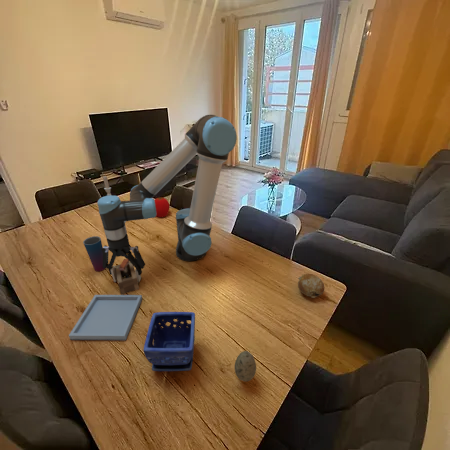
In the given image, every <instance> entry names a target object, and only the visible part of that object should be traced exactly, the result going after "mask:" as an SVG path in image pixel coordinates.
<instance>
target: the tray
mask: <svg viewBox="0 0 450 450" xmlns="http://www.w3.org/2000/svg"><path fill="white" fill-rule="evenodd" d="M142 302H143V295H141V294H94V295H93V297H92V298H91V300H90V302H89V303H88V305H87V306H86V308H85V309H84V311H83V313H82V314H81V315H80V317H79V318H78V320H77V321H76V324H75V325H74V327H73V328H72V329H71V331H70V333H69V334H68V337H69V340H70V341H126V340H127V338H128V336H129V333H130V331H131V329H132V326H133V323H134V321H135V319H136V317H137V314H138V311H139V309H140V306H141V304H142Z"/></svg>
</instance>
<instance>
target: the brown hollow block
mask: <svg viewBox="0 0 450 450" xmlns="http://www.w3.org/2000/svg"><path fill="white" fill-rule="evenodd" d="M120 265H121V263H119V264H117V265H114V266H115V268H116V274H117V280H116V281H117V286H118V289H119V292H120V295H126V294H128V293H131V292H134V291H137V290H140V286H139V282H138V281H137V277H136V273H135V269H136V268H135V267H134V266H133V265H132V263H131V262H130V261H129V263H128V265H127V269H128V273H129V278H125V274H124V270H119V267H120Z"/></svg>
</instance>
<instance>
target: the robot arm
mask: <svg viewBox="0 0 450 450" xmlns="http://www.w3.org/2000/svg"><path fill="white" fill-rule="evenodd" d="M237 136H238V135H237V130H236V128H235V126H234V124H233V123H232V122H231V121H230V120H228V119H227V118H224V117H222V116H217V115H215V114H206V115H203V116H202V117H200V118H199V119H198V120H197V121H196V122H195V123H194V124H192V126H191V127H190V128H189V129H188V131H186V133H184V138H183V139H182V141H180V142H179V144H177V145H176V147H174V148H173V149H172V150H171V152H169V153H168V154H167V156H165V157H164V159H162V160H161V162H159V164H157V165H156V166H155V168H153V170H151V172H150V173H149V174H148V175H147V176H146V177H145V178H143V180H141V182H140V183H138V184H137V185H134V186H132V188H131V189H130V192H129V200H121V198H120V197H119V196H118V195H112V194H111V195H109V196H107V195H105V196H102V197H100V198H99V199H98V200H97V208H98V214H99V216H100V219H101V223H102V227H103V232H104V234H105V238H106V242H107V245H105V244H104V245H103V246H102V247H103V248H102V249H101V250H102V253H103V268H106V269H107V270H108V273H109V275H111V277H112V280H113V283H116V282H117V281H118V280H117V274H116V267H115V266H116V265H114V263H115V260H116V258H118V257H122V258H123V257H124V259H128V260H129V262H131V263H132V265H133V266H134V269H135V273H136V277H137V281H138V283H140V281H141V279H142V276H141V275H142V273H143V270H142V269H144V268H145V266H146V262H145V260H144V259H143V256H142V255H141V253H140V251H139V246H138V245H135V246H131V244H130V241H129V236H128V230H127V227H126V222H130V221H138V220H139V221H140V220H141V221H142V220H148V219H153V218H155V217H157V216H156V215H157V214H156V207H155V198H154V197H155V196H156V195H157V194H158V193H159V192H160V191H161V190H162V189H163V188H164V187H165V186H166V185H167V184H168V183H169V182H170V181H171V180H172V179H173V178H174V177H175V176H176V175H177V174H178V173H179V172H180V171H181V170H182V169H183V168H184V167H186V165H187V164H188V163H189V162H190V161H192V160H193V159H194V158H195V156H196V155H197V157H198V158H199V159H198V165H197V166H198V167H197V171H196V176H195V181H194V185H193V191H192V197H191V198H192V199H191V203H190V206H189V207H188V208H183V209H179V210H178V211H176V213H175V221H176V229H177V230H176V231H177V245H176V247H175V253H176V257H177V258H178V259H179V260H182V261H186V262H193V261H199V260H200V259H203V258H204V257H205V256H206V255H207V252H208V251H209V250H210V248H211V247H212V244H213V243H212V237H211V230H212V228H213V223H212V222H211V220H210V219H211V215H212V211H213V206H214V202H215V197H216V194H217V188H218V184H219V180H220V176H221V175H220V174H221V171H222V166H223V163H225V162H227V161H228V160H229V159H228V158H229V155H230V152H232V151H233V150H234V148H235V146H236V144H237V140H238V138H237ZM124 221H126V222H124ZM109 251H110V252H111V253H112V255H111V258H110V261H109Z"/></svg>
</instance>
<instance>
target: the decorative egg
mask: <svg viewBox="0 0 450 450" xmlns="http://www.w3.org/2000/svg"><path fill="white" fill-rule="evenodd" d="M256 371H257V363H256V360H255V357H254V356H253V354H252V353H251V352H249V351H248V350H244V351H241V352H240V353H239V354H238V355H237V357H236V359H235V363H234V373H235V375H236V377H237V379H238V380H240V381H242V382H249V381H251V380H252V379H254V377H255V375H256Z"/></svg>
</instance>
